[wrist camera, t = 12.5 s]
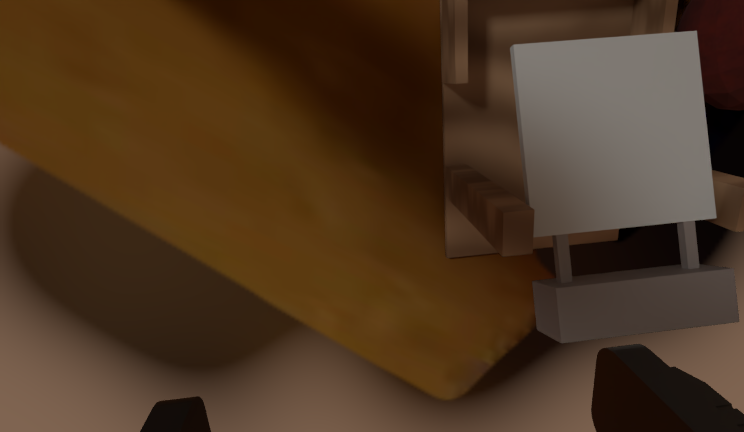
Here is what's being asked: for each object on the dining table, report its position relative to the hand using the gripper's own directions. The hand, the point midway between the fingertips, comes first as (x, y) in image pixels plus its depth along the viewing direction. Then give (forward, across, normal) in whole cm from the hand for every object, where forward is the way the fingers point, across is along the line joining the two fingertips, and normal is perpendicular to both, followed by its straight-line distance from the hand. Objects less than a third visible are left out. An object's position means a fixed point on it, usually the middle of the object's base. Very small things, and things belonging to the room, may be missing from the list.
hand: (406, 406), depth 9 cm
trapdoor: (+22, -18, +3) cm, 28 cm away
